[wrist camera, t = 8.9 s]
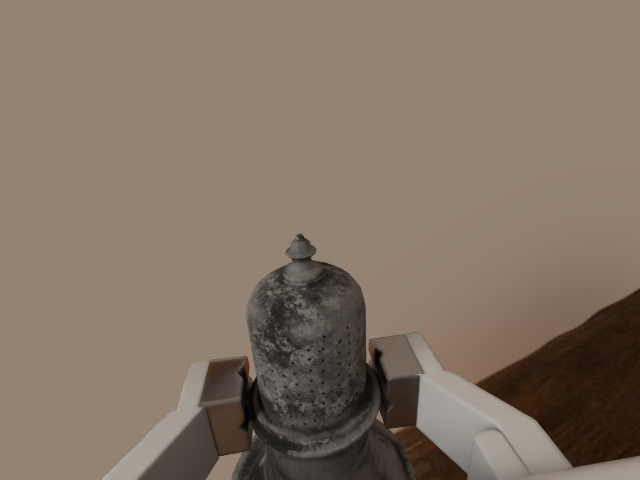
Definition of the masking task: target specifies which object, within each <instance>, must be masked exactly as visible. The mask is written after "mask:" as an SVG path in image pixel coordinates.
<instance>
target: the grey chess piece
mask: <svg viewBox="0 0 640 480" xmlns="http://www.w3.org/2000/svg"><path fill="white" fill-rule="evenodd" d="M315 253H316V248H315V247H314V246H313V245H310V241H309V240H307V239H306V238H304V236H303V235H302V234H298V235H297V236H296V238H295V239H294V240H293V241H292V242H291V247H290V248H288V249H287V250H286V255H287V256H288V257H289V258H291V259H292V262H291V263H289V264H288V265H285V266H283V267H281V268H279V269H277V270H275V271H273V272H271V273H270V274H268V275H267V276H266V277H265V278H263V279H262V280H261V281H260V282H259V283H258V284H257V286H256V287H255V289H254V290H253V292H252V293H251V295H250V297H249V300H248V303H247V312H246V318H247V325H248V330H249V336H250V342H251V347H252V352H253V358H254V364H255V369H256V375H257V376H256V378H255V380H254V382H253V383H252V385H251V387H250V390H249V395H248V399H247V409H248V418H249V421H250V423H251V425H252V427H253V429H254V431H255V434H256V435H255V436H254V437H253V439H252V447H251V451H245V452H242V454H241V457H240V459H239V461H238V463H237V466H236V468H235V470H234V472H233V475H232V480H416V478H415V474H414V470H413V466H412V463H411V461H410V459H409V457H408V455H407V453H406V452H405V450H404V448H403V446H402V444H401V442H400V441H399V440H398V439H397V438H396V436H395V435H394V434H393V433H392V432H391V431H390V430H389V429H386V428H385V425H384V424H383V423H382V422H380V421H379V420H377V419H376V416H377V414H378V412H379V407H380V399H381V391H380V386H379V381H378V378H377V377H376V375H375V373H374V371H373V369H372V368H371V367H370V366H369V365H368V364H367V363H366V311H365V310H366V308H365V302H364V298H363V294H362V290H361V287H360V286H359V285H358V283H357V282H356V281H355V280H354V279H353V278H352V277H351V275H350V274H349V273H347V272H346V271H344V270H343V269H341V268H338V267H336V266H334V265H331V264H328V263H324V262H319V261H313V260H312V259H311V257H312V256H313V255H314V254H315Z"/></svg>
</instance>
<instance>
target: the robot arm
mask: <svg viewBox="0 0 640 480" xmlns="http://www.w3.org/2000/svg"><path fill="white" fill-rule="evenodd" d="M369 352H370V355H371V360H370V361H369V366H370V367H371V368H372V369H373V371H374V373H375V375H376V377H377V378H378V381H379V386H380V391H381V399H380V407H379V410H380V413H381V416H382V418H383V422H384V425H385V428H386V429H390V428H398V427H406V426H414V425H416V427H417V428H418V429H419V430H420V431H422V432H423V433H424V434H425V435H426V436H427V437H428V438H429V439H430V440H431V441H432V442H433V443H435V444H436V445H437V446H438V447H439V448H440V449H441V450H442V451H443V452H444V453H445V454H446V455H448V456H449V457H450V458H451V459H452V460H453V461H454V462H455V463H456V464H457V465H458V466H459V467H461V468H462V469H463V470H464V471H465V472H466V473H467V474H468V476H467V480H640V456H636V457H630V458H624V459H619V460H613V461H607V462H602V463H596V464H591V465H585V466H579V467H574V468H573V467H572V465H571V464H570V463H569V461H568V460H567V459H566V458H565V456H564V455H563V454H562V453H561V451H560V450H559V449H558V448H557V446H556V445H555V444H554V443H553V441H552V440H551V439H550V437H549V436H548V435H547V434H546V432H545V431H544V430H543V429H542V427H541V426H540V425H539V424H538V422H537V421H536V420H534V419H533V418H531V417H529V416H528V415H526V414H524V413H522V412H521V411H519V410H517V409H515V408H514V407H512V406H510V405H509V404H507V403H505V402H503V401H502V400H500V399H498V398H496V397H495V396H493V395H491V394H490V393H488V392H486V391H484V390H483V389H481V388H479V387H477V386H476V385H474V384H472V383H470V382H469V381H467V380H465V379H463V378H462V377H460V376H458V375H457V374H455V373H453V372H451V371H445V370H444V369H443V367H442V366H441V364H440V363H439V361H438V359H437V358H436V356H435V354H434V353H433V351H432V349H431V348H430V346H429V345H428V343H427V341H426V340H425V338H424V337H423V335H422V334H421V333H420V332H414V333H407V334H403V335H396V336H389V337H382V338H375V339H370V340H369ZM251 385H252V379H251V378H250V377H249V362H248V358H247V356H240V357H232V358H222V359H213V360H208V361H198V362H193V363H192V364H191V365H190V367H189V371H188V374H187V377H186V381H185V384H184V387H183V391H182V394H181V397H180V400H179V404H178V407H177V410H175V411H171V412H170V413H168V415H167V416H165V417H164V418H163V419H162V421H160V422H159V423H158V424H157V425H156V426H155V427H154V428H153V429H152V430H151V431H150V432H149V433H148V434H147V435H146V436H145V437H144V438H143V439H142V440H141V441H140V442H139V443H138V444H137V445H136V446H135V447H134V448H133V449H132V450H131V451H130V452H129V453H128V454H127V455H126V456H125V457H124V458H123V459H122V460H121V461H120V462H119V463H118V464H117V465H116V466H115V467H114V468H113V469H112V470H111V471H110V472H109V473H108V474H107V475H106V476H105V477H104V478H103V479H102V480H205V479H206V478H207V476H208V475H209V473H210V471H211V470H212V469H213V467H214V465H215V464H216V462H217V461H218V459H219V458H218V457H219V456H224V455H229V454H235V453H240V452H245V451H251V447H252V432H253V427H252V425H251V423H250V421H249V418H248V409H247V399H248V395H249V390H250V387H251Z"/></svg>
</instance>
